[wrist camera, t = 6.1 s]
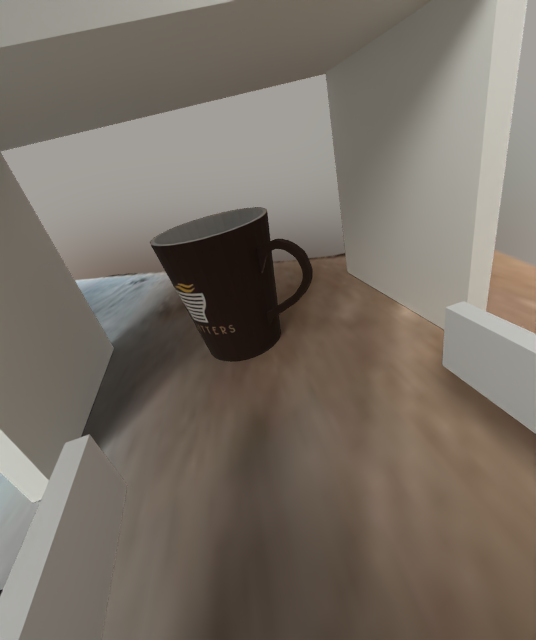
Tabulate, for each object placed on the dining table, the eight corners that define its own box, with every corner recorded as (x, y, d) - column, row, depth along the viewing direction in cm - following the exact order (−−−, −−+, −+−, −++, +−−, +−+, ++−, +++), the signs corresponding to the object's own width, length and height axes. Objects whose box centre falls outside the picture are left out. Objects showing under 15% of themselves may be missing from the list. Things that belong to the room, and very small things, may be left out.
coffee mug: (188, 338, 29) (144, 236, 24) (267, 304, 32) (241, 205, 27) (226, 412, 20) (166, 266, 15) (336, 354, 22) (315, 213, 17)
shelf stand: (496, 335, 20) (572, -150, 10) (18, 515, 16) (-531, 27, 7) (361, 265, 35) (342, 39, 25) (95, 352, 31) (-45, 126, 22)
